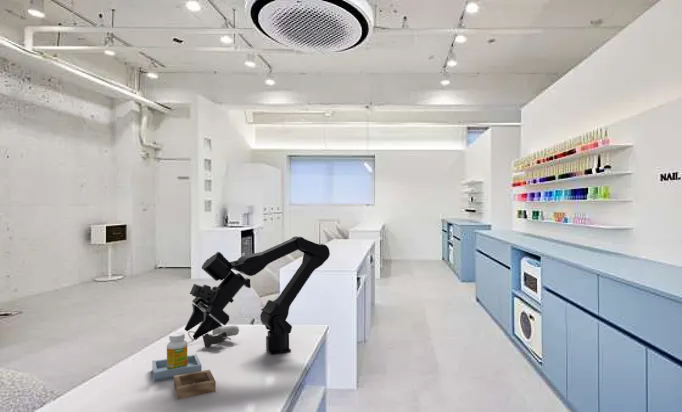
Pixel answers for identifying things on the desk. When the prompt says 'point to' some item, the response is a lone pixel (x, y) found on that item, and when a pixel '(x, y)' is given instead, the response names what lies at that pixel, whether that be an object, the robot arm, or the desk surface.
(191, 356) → the tray
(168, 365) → the supplement bottle
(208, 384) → the frame
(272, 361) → the desk surface
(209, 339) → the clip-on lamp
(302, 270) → the robot arm
